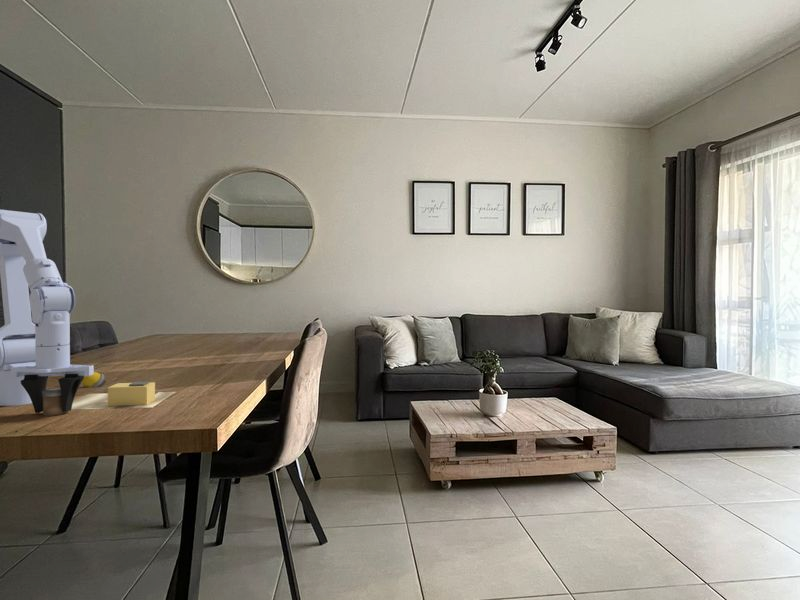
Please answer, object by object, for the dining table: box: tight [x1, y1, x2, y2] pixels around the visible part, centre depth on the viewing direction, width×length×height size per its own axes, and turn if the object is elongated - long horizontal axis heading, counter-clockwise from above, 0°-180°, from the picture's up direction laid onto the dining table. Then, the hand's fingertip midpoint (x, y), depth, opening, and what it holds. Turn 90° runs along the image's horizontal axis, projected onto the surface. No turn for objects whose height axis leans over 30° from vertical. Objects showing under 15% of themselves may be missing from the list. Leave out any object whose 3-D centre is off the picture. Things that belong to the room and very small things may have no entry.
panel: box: [70, 391, 176, 411], centre depth 111 cm, size 20×16×1 cm
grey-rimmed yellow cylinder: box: [81, 371, 107, 388], centre depth 126 cm, size 5×5×10 cm
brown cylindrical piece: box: [42, 387, 65, 417], centre depth 98 cm, size 4×4×6 cm
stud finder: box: [107, 381, 156, 406], centre depth 108 cm, size 8×5×4 cm, turn 98°
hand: (53, 411), depth 98 cm, fingers open, 4 cm apart
